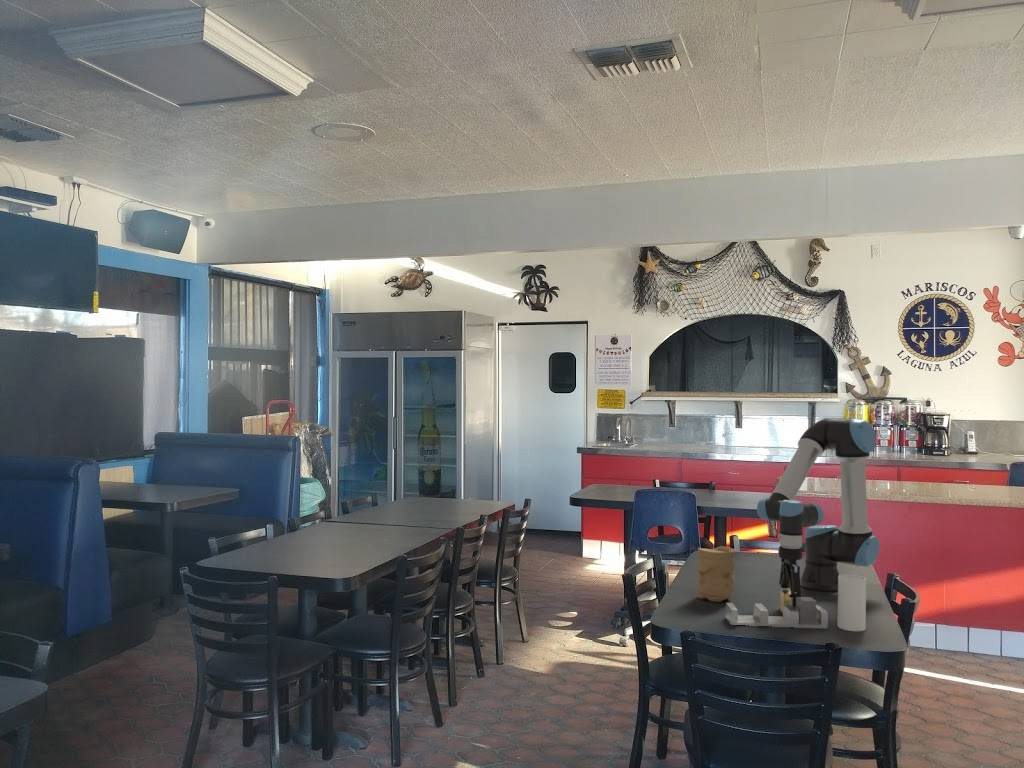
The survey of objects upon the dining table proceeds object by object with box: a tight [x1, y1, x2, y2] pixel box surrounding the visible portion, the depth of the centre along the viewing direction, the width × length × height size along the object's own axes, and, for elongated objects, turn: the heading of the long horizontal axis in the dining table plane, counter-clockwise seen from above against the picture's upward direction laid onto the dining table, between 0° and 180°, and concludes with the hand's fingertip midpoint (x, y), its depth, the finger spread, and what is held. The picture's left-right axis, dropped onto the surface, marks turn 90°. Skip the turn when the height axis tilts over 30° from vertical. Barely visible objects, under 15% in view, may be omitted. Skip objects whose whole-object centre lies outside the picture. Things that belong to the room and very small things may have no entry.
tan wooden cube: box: [779, 589, 796, 614], centre depth 285 cm, size 5×5×7 cm
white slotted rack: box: [725, 596, 829, 630], centre depth 272 cm, size 30×9×8 cm, turn 87°
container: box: [697, 545, 735, 603], centre depth 301 cm, size 13×13×18 cm
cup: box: [837, 573, 867, 632], centre depth 268 cm, size 8×8×16 cm
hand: (789, 611), depth 285 cm, fingers open, 11 cm apart
